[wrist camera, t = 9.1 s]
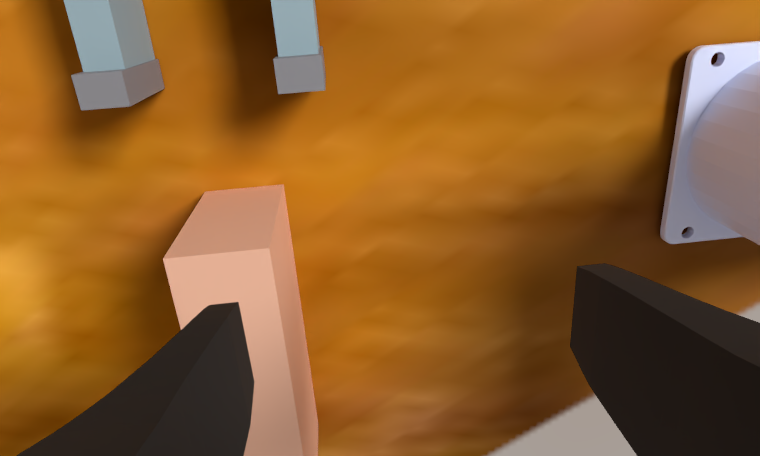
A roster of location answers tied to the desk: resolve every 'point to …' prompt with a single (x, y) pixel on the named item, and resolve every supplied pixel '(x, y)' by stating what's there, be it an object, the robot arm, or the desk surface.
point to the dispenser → (142, 71)
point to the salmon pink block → (252, 306)
